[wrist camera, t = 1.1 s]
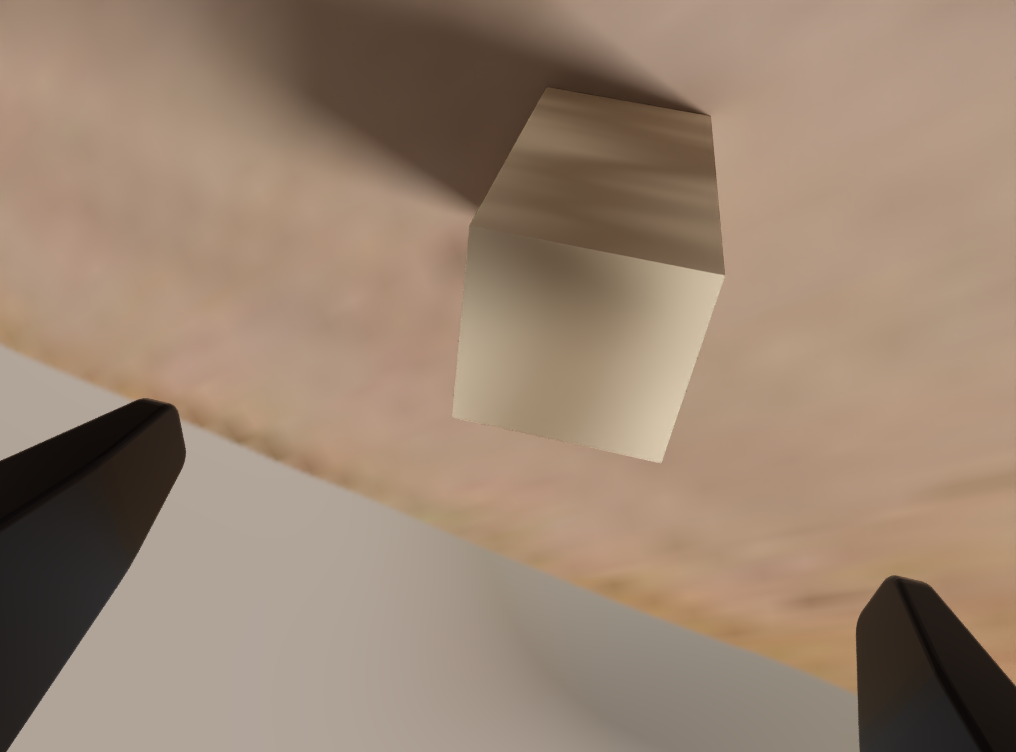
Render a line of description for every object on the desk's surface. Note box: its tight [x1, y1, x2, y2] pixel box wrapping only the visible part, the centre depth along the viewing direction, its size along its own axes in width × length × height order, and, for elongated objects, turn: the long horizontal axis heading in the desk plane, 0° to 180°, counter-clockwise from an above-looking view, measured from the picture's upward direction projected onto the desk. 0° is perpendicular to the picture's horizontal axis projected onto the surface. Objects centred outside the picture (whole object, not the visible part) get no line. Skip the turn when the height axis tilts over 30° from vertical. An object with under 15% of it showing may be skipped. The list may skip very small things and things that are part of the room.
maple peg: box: [452, 87, 725, 463], centre depth 16 cm, size 4×4×8 cm
